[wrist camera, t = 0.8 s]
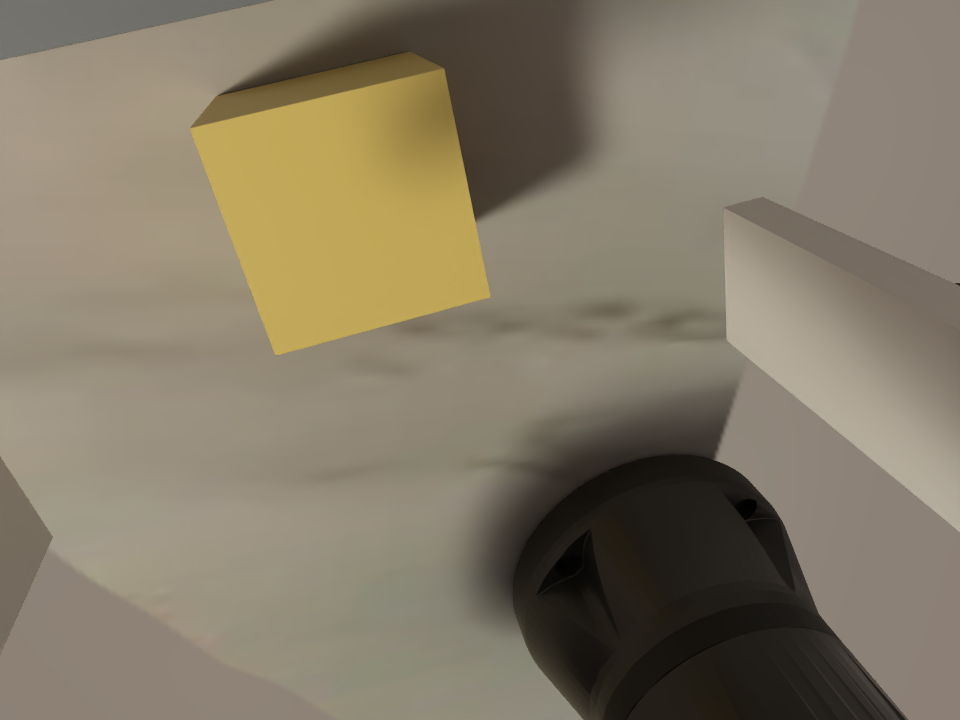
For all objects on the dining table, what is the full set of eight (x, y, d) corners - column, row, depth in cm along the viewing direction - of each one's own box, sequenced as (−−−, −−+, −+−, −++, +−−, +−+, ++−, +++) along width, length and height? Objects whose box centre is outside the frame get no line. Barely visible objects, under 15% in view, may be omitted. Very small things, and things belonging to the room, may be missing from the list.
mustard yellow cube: (450, 234, 29) (490, 297, 23) (280, 278, 29) (275, 355, 22) (409, 51, 26) (444, 68, 20) (216, 96, 25) (189, 128, 19)
